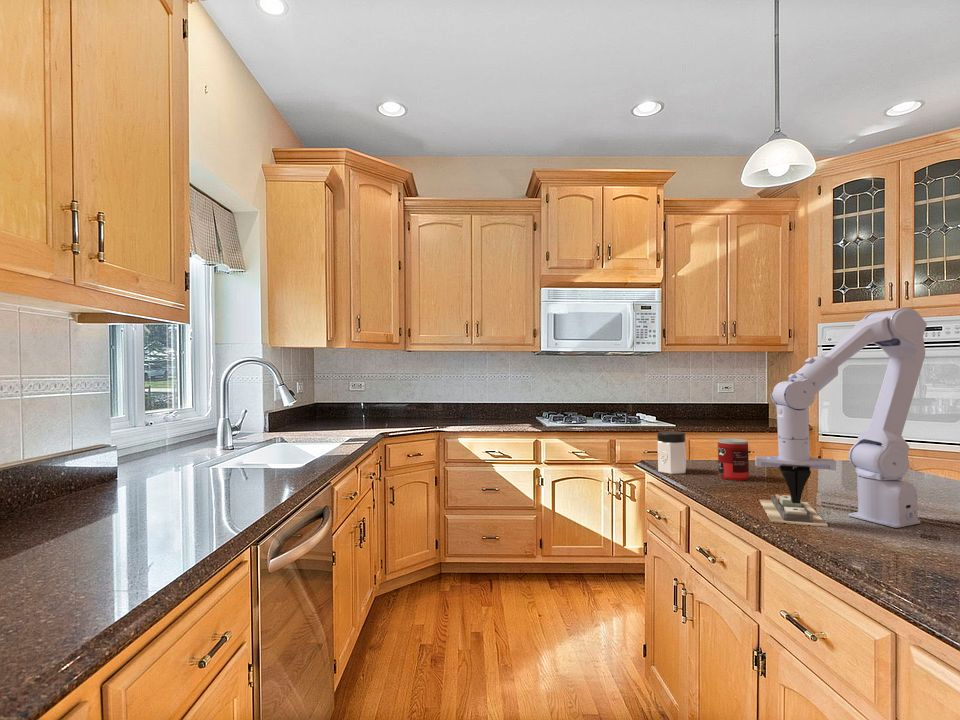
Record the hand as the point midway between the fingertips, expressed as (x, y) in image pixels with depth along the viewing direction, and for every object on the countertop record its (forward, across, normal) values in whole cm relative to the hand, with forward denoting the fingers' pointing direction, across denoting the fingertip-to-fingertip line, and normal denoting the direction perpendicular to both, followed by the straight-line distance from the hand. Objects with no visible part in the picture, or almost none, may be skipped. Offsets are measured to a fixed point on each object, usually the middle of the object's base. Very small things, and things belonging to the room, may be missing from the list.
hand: (795, 502), depth 110 cm
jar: (+4, +27, -44) cm, 52 cm away
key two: (+2, 0, -6) cm, 6 cm away
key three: (+3, +1, -11) cm, 11 cm away
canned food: (+4, +10, -39) cm, 41 cm away
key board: (+4, 0, -6) cm, 7 cm away
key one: (+3, 0, 0) cm, 3 cm away
